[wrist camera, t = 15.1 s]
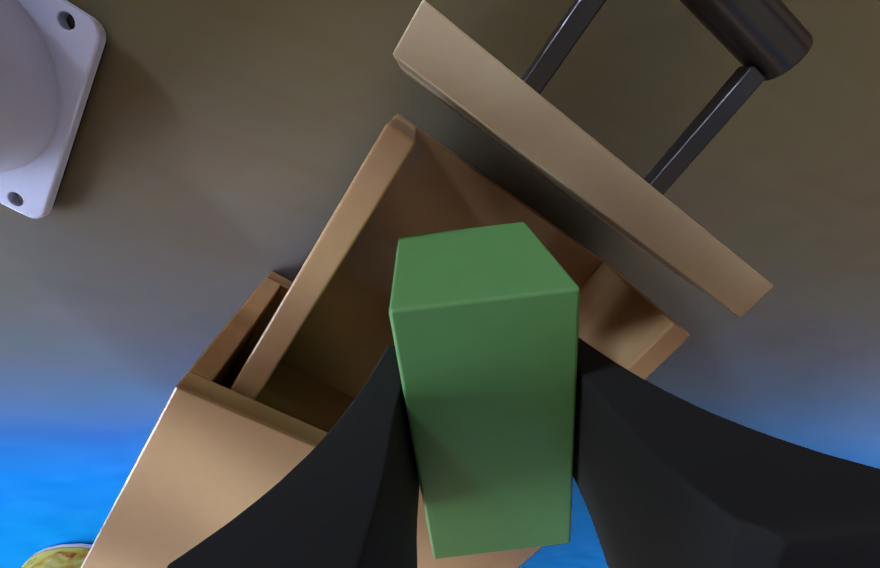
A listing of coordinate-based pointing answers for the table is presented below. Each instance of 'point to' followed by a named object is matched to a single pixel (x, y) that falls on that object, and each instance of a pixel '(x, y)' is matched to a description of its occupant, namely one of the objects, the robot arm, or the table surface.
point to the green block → (488, 385)
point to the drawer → (510, 208)
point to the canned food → (59, 556)
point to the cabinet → (223, 459)
